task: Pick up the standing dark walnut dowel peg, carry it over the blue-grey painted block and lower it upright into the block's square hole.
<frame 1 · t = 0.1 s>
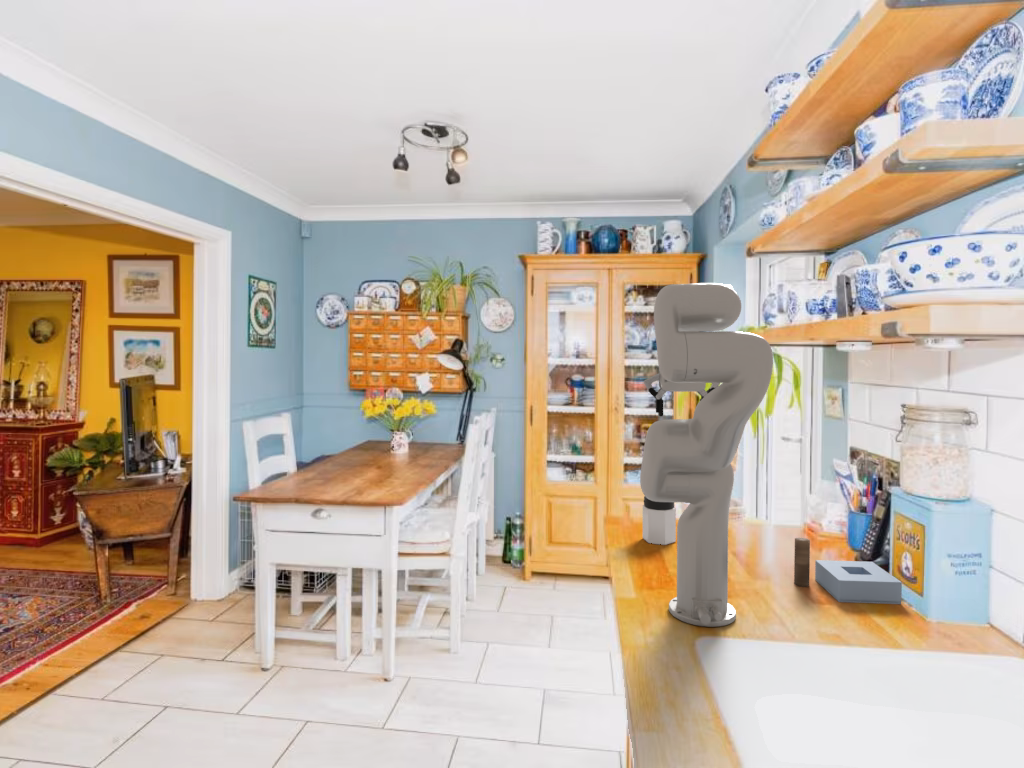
hand: (681, 415, 137), 37 cm above the kitchen counter, tool pointing down, fingers open, 9 cm apart
peg: (801, 584, 129), on the kitchen counter
jar: (658, 540, 161), on the kitchen counter
hole block: (855, 591, 125), on the kitchen counter
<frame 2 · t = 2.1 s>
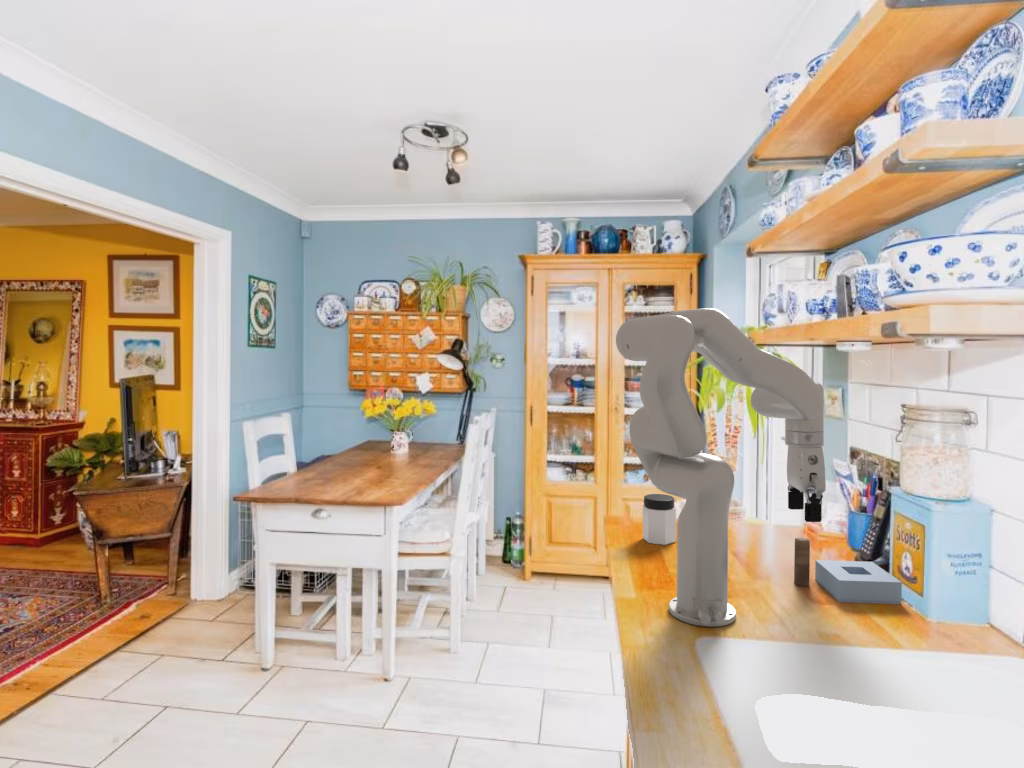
hand: (804, 515, 128), 15 cm above the kitchen counter, tool pointing down, fingers open, 9 cm apart
nothing on the kitchen counter moved.
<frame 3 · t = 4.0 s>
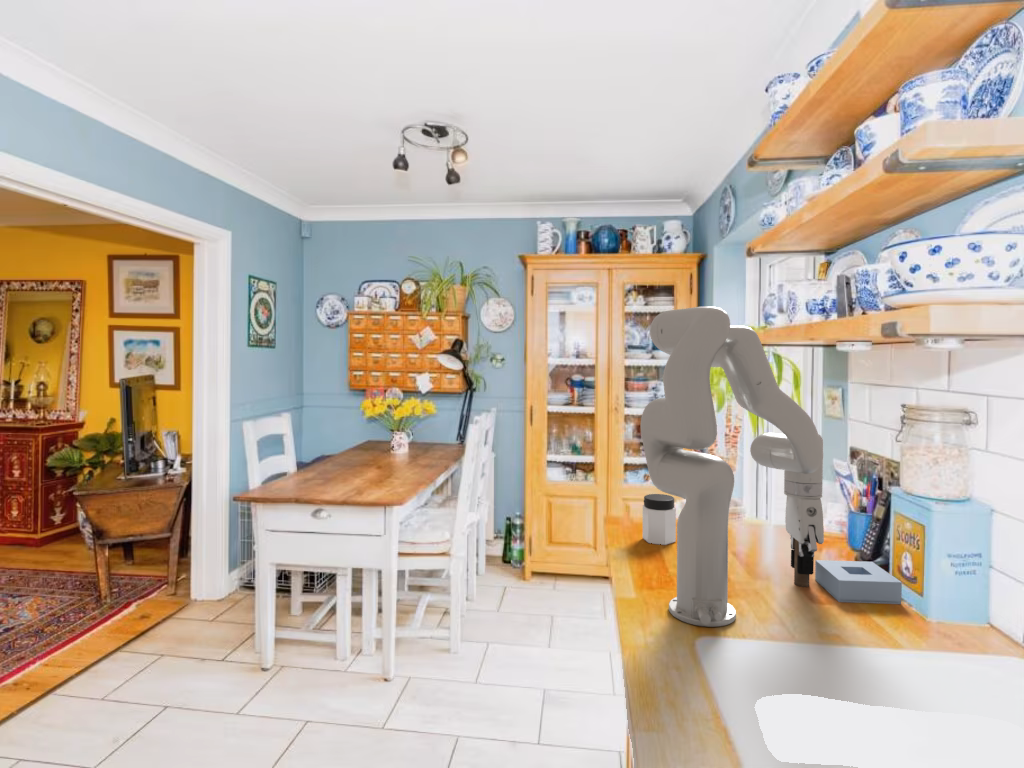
hand: (801, 569, 129), 3 cm above the kitchen counter, tool pointing down, fingers closed on peg, 3 cm apart
peg: (801, 584, 129), on the kitchen counter, touching gripper
everything else where it was.
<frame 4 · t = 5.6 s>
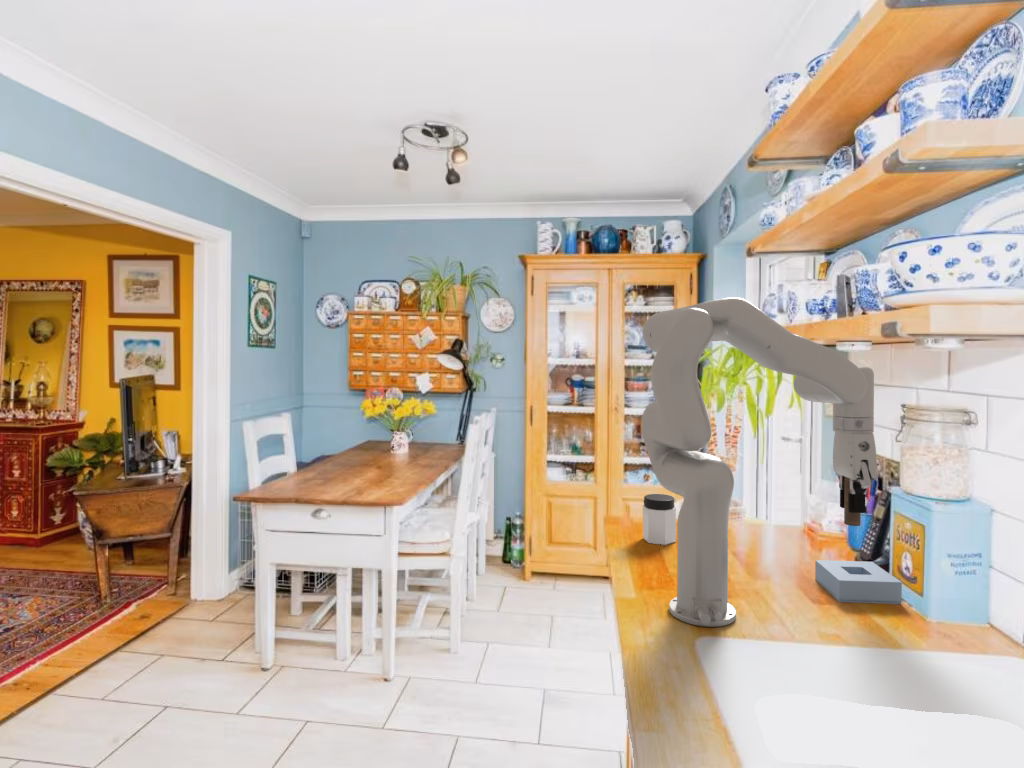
hand: (852, 509, 125), 18 cm above the kitchen counter, tool pointing down, fingers closed on peg, 3 cm apart
peg: (852, 524, 125), point 14 cm above the kitchen counter, touching gripper
everything else where it was.
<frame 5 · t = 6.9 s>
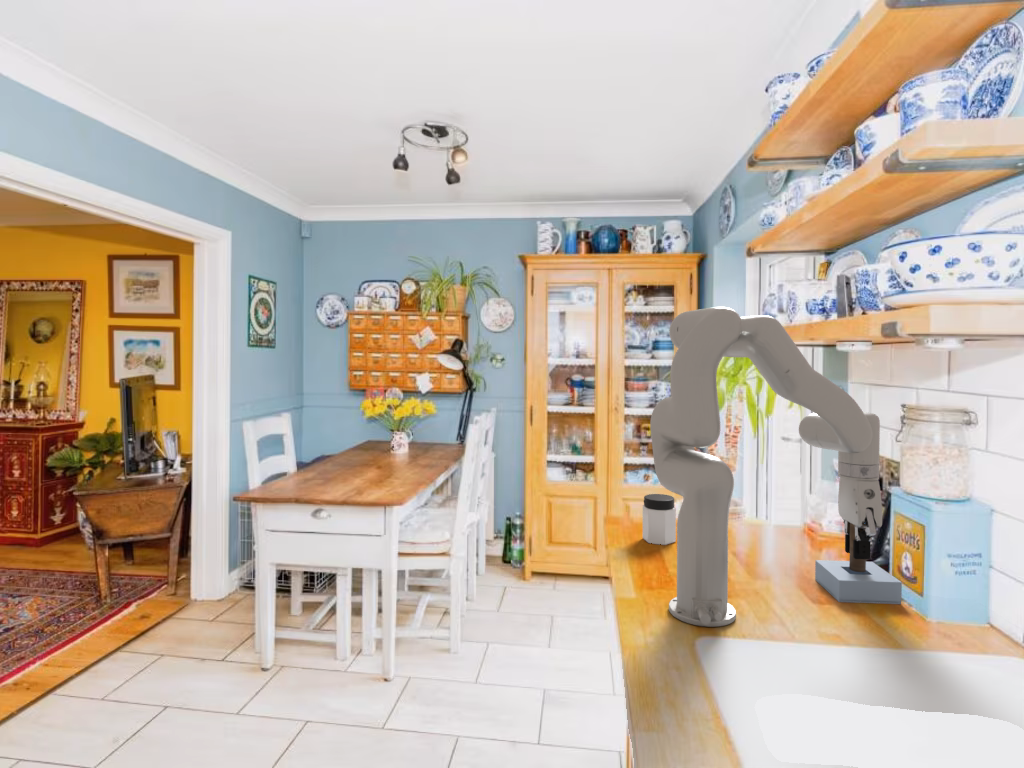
hand: (857, 554, 125), 8 cm above the kitchen counter, tool pointing down, fingers closed on peg, 3 cm apart
peg: (857, 569, 125), point 5 cm above the kitchen counter, touching gripper
everything else where it was.
when the fingers open (6 cm above the kitchen counter, at t = 7.5 s): peg drops 2 cm, resting on hole block.
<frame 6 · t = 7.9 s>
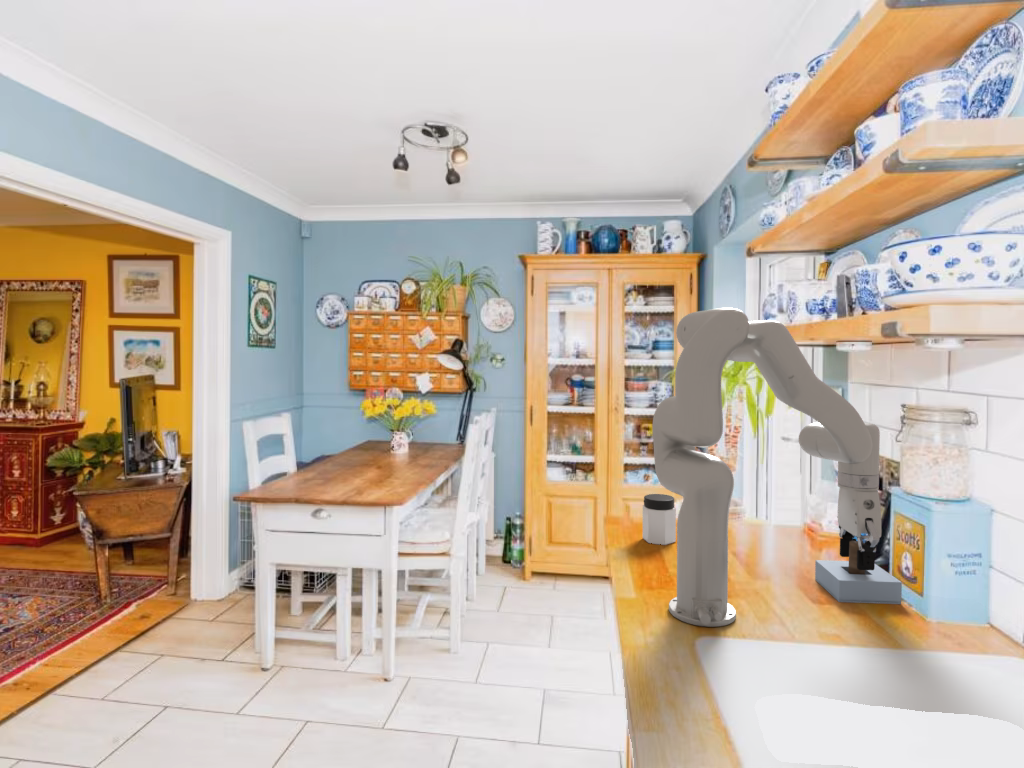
hand: (856, 562, 125), 6 cm above the kitchen counter, tool pointing down, fingers open, 7 cm apart
peg: (855, 588, 125), point 1 cm above the kitchen counter, touching hole block
everything else where it was.
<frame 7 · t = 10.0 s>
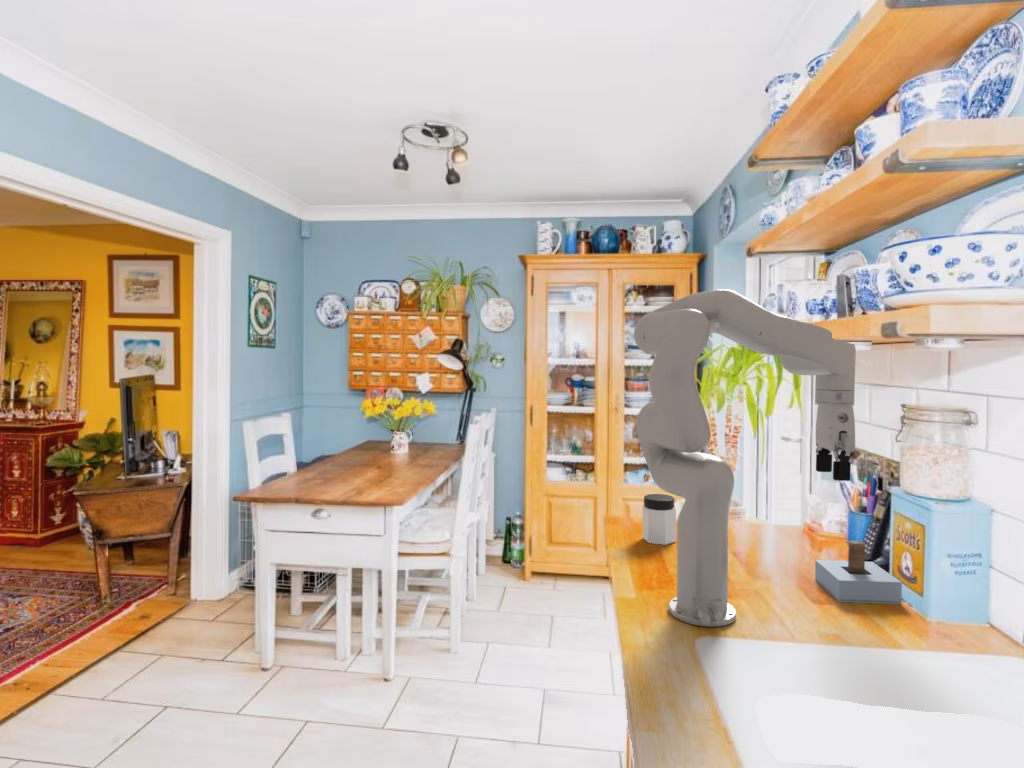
hand: (832, 475, 128), 24 cm above the kitchen counter, tool pointing down, fingers open, 9 cm apart
nothing on the kitchen counter moved.
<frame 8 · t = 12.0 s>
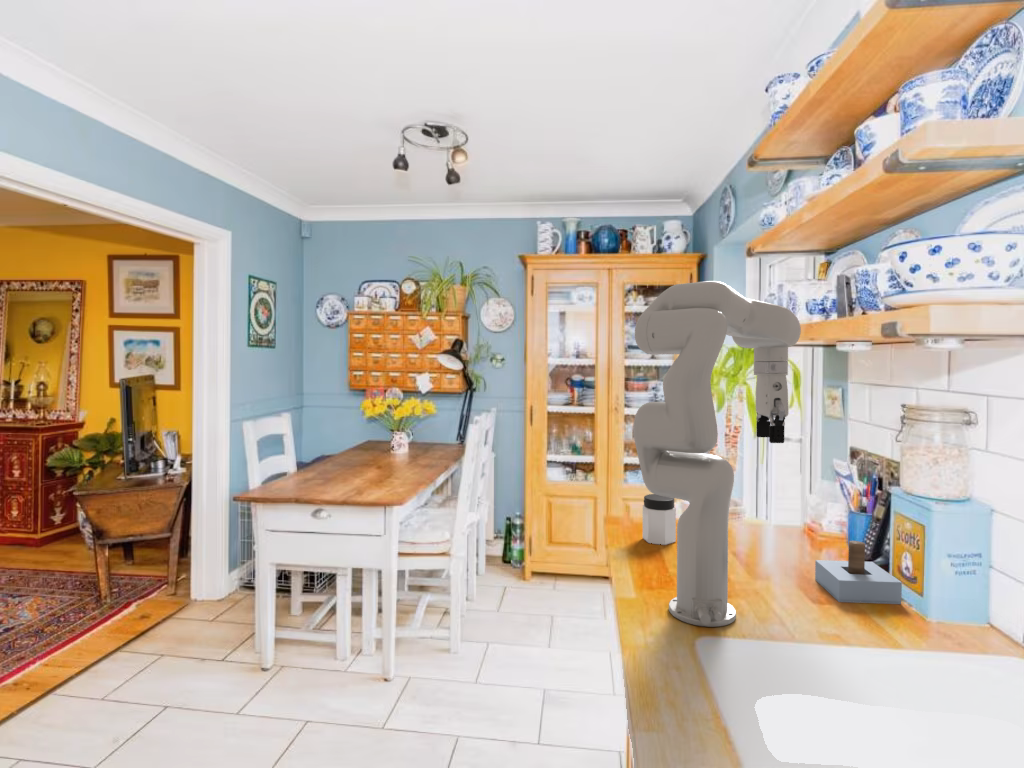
hand: (769, 439, 141), 30 cm above the kitchen counter, tool pointing down, fingers open, 9 cm apart
nothing on the kitchen counter moved.
at the end: peg 0.0 cm off-centre on the hole block, point 0.5 cm above the hole block's base; peg tilted 0°; the gripper is holding nothing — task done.
